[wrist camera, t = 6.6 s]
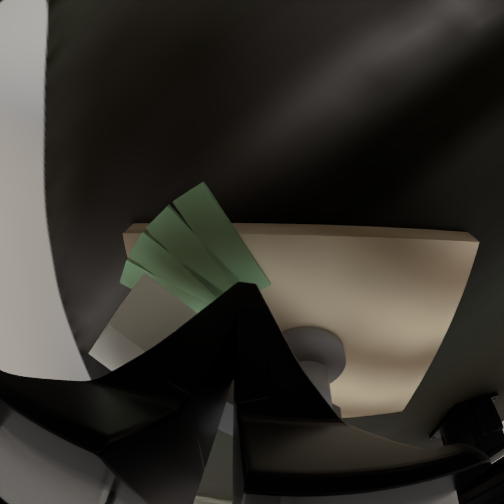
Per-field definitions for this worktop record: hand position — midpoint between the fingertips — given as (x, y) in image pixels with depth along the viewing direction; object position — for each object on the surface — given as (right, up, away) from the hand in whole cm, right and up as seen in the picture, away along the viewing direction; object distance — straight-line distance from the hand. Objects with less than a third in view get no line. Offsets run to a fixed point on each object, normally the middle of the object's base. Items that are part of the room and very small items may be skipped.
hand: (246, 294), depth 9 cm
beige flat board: (+3, -3, +6) cm, 7 cm away
